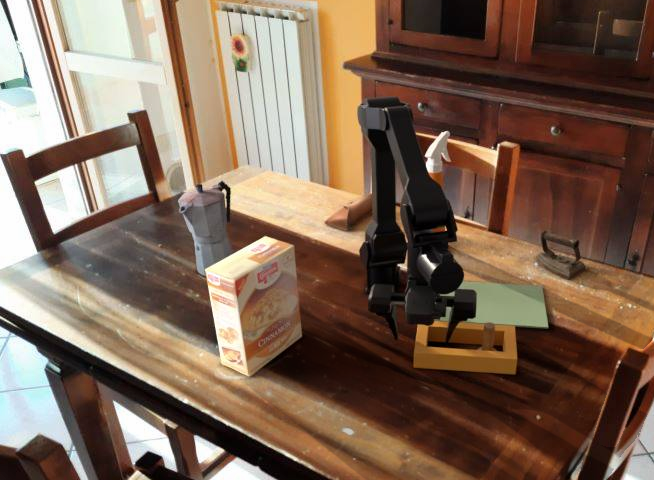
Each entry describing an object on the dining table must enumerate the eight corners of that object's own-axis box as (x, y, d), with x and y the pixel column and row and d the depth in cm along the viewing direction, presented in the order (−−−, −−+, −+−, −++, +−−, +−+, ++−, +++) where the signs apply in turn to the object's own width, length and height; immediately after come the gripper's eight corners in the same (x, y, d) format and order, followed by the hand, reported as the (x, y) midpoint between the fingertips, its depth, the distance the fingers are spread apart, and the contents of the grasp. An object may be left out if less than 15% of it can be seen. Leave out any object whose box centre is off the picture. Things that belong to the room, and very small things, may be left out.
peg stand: (475, 361, 118) (478, 330, 114) (475, 348, 122) (478, 318, 118) (497, 362, 118) (501, 332, 114) (497, 349, 121) (500, 319, 117)
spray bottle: (458, 239, 159) (465, 131, 144) (436, 256, 152) (441, 144, 137) (433, 232, 162) (437, 125, 148) (410, 248, 155) (412, 138, 140)
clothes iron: (572, 282, 143) (567, 241, 138) (528, 276, 150) (522, 236, 146) (588, 268, 147) (584, 227, 142) (545, 263, 154) (539, 223, 150)
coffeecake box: (249, 377, 114) (234, 280, 103) (220, 364, 117) (202, 268, 106) (304, 336, 124) (295, 244, 113) (275, 325, 127) (264, 234, 116)
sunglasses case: (358, 198, 178) (368, 180, 174) (377, 215, 178) (388, 197, 173) (322, 223, 165) (332, 204, 160) (343, 241, 165) (353, 223, 160)
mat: (425, 321, 129) (425, 319, 129) (430, 281, 142) (430, 279, 142) (548, 328, 127) (548, 327, 127) (541, 287, 140) (542, 285, 140)
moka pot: (178, 278, 142) (159, 191, 131) (219, 248, 154) (206, 166, 143) (215, 286, 139) (199, 199, 128) (254, 255, 151) (243, 172, 140)
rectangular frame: (413, 367, 116) (413, 352, 114) (418, 334, 125) (418, 319, 123) (515, 374, 115) (517, 359, 113) (513, 340, 124) (514, 325, 122)
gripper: (362, 285, 105) (364, 363, 114) (479, 292, 103) (472, 370, 112) (371, 253, 114) (373, 327, 123) (479, 259, 112) (473, 334, 121)
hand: (421, 340), depth 119 cm, fingers open, 9 cm apart
